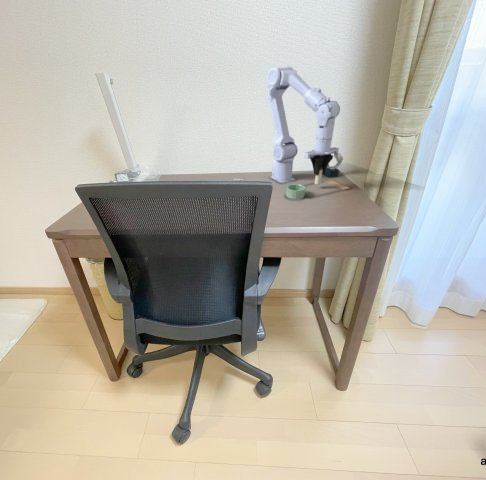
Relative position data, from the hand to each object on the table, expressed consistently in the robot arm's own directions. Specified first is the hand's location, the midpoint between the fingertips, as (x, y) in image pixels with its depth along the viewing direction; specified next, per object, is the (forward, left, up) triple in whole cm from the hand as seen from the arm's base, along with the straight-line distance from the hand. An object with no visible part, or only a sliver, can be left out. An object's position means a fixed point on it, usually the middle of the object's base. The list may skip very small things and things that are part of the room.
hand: (318, 173), depth 103 cm
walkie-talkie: (-15, -27, -7) cm, 32 cm away
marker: (0, 0, -4) cm, 4 cm away
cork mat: (0, +2, -7) cm, 7 cm away
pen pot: (+2, -12, -7) cm, 14 cm away
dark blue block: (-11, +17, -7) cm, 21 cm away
